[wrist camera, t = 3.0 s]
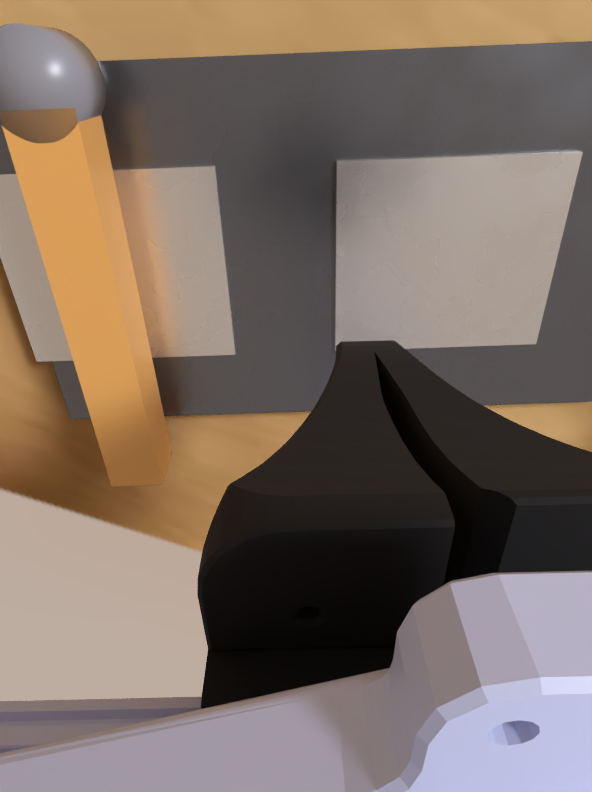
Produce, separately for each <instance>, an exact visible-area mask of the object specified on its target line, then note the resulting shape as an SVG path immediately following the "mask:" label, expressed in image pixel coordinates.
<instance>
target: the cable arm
mask: <svg viewBox="0 0 592 792" xmlns="http://www.w3.org/2000/svg"><path fill="white" fill-rule="evenodd" d="M105 101H106V87H105V81H104V77H103V74H102V71H101V68H100V66H99V64H98V62H97V60H96V59H95V57H94V55H93V54H92V53H91V51H90V50H89V49H88V48H87V47H86V46H85V45H84V44H83V43H82V42H81V41H80V40H79V39H77V38H76V37H74V36H73V35H71V34H69V33H67V32H65V31H62V30H59V29H55V28H48V27H40V26H32V25H24V24H6V25H3V26H0V124H1V125H2V128H3V131H4V135H5V138H6V141H7V145H8V148H9V151H10V154H11V158H12V161H13V164H14V168H15V171H16V174H17V177H18V181H19V184H20V187H21V191H22V194H23V197H24V200H25V204H26V207H27V210H28V214H29V217H30V220H31V223H32V227H33V230H34V233H35V237H36V240H37V243H38V246H39V250H40V253H41V256H42V260H43V263H44V266H45V269H46V273H47V276H48V279H49V283H50V286H51V289H52V292H53V296H54V299H55V302H56V306H57V309H58V312H59V315H60V319H61V322H62V325H63V329H64V332H65V335H66V338H67V342H68V345H69V348H70V352H71V355H72V358H73V361H74V365H75V368H76V371H77V375H78V378H79V381H80V384H81V388H82V391H83V394H84V398H85V401H86V404H87V407H88V411H89V414H90V417H91V421H92V424H93V427H94V430H95V434H96V437H97V440H98V444H99V447H100V450H101V453H102V457H103V460H104V463H105V467H106V470H107V473H108V476H109V480H110V483H111V486H112V487H113V486H143V485H162V484H163V481H164V477H165V474H166V471H167V467H168V464H169V461H170V457H171V454H172V451H171V446H170V441H169V436H168V432H167V427H166V422H165V417H164V413H163V408H162V403H161V398H160V393H159V389H158V384H157V379H156V374H155V370H154V365H153V360H152V355H151V351H150V346H149V341H148V336H147V331H146V327H145V322H144V317H143V312H142V308H141V303H140V298H139V293H138V289H137V284H136V279H135V274H134V269H133V265H132V260H131V255H130V250H129V246H128V241H127V236H126V231H125V226H124V222H123V217H122V212H121V207H120V203H119V198H118V193H117V188H116V184H115V179H114V174H113V169H112V164H111V160H110V155H109V150H108V145H107V141H106V136H105V131H104V126H103V122H102V117H101V115H102V112H103V110H104V106H105Z"/></svg>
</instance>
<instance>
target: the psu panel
mask: <svg viewBox="0 0 592 792" xmlns="http://www.w3.org/2000/svg"><path fill="white" fill-rule="evenodd" d="M97 62H98V64H99V66H100V68H101V71H102V74H103V77H104V81H105V87H106V101H105V106H104V110H103V112H102V115H101V117H102V122H103V126H104V131H105V136H106V141H107V145H108V150H109V155H110V160H111V164H112V169H113V174H114V179H115V184H116V188H117V193H118V198H119V203H120V207H121V212H122V217H123V222H124V226H125V231H126V236H127V241H128V246H129V250H130V255H131V260H132V265H133V269H134V274H135V279H136V284H137V289H138V293H139V298H140V303H141V308H142V312H143V317H144V322H145V327H146V331H147V336H148V341H149V346H150V351H151V355H152V360H153V365H154V370H155V374H156V379H157V384H158V389H159V393H160V398H161V403H162V408H163V413H164V416H179V415H208V414H238V413H267V412H296V411H312V410H313V408H314V407H315V405H316V404H317V402H318V400H319V398H320V396H321V395H322V393H323V391H324V389H325V387H326V385H327V383H328V380H329V378H330V375H331V373H332V370H333V367H334V364H335V360H336V346H337V345H338V344H339V343H340V342H345V341H386V340H394V341H396V342H397V343H399V344H400V345H401V346H402V347H403V348H405V349H406V350H407V351H408V352H409V353H411V354H412V355H413V356H414V357H415V358H417V359H418V360H419V361H420V362H421V363H423V364H424V365H425V366H426V367H427V368H429V369H430V370H431V371H433V372H434V373H435V374H436V375H438V376H439V377H440V378H442V379H443V380H444V381H446V382H447V383H448V384H450V385H451V386H453V387H454V388H456V389H457V390H459V391H460V392H462V393H463V394H465V395H466V396H468V397H469V398H471V399H472V400H474V401H476V402H477V403H479V404H481V405H501V404H530V403H560V402H589V401H592V41H590V42H566V43H541V44H516V45H491V46H466V47H442V48H417V49H392V50H367V51H342V52H318V53H293V54H268V55H243V56H218V57H194V58H169V59H144V60H119V61H97ZM0 258H1V261H2V264H3V266H4V269H5V272H6V275H7V278H8V281H9V284H10V287H11V289H12V292H13V295H14V298H15V301H16V304H17V307H18V309H19V312H20V315H21V318H22V321H23V324H24V327H25V330H26V332H27V335H28V338H29V341H30V344H31V347H32V350H33V353H34V355H35V358H36V361H37V362H44V361H52V363H53V367H54V370H55V373H56V376H57V379H58V382H59V385H60V388H61V391H62V394H63V397H64V400H65V403H66V406H67V409H68V412H69V415H70V418H71V419H91V417H90V414H89V411H88V407H87V404H86V401H85V398H84V394H83V391H82V388H81V384H80V381H79V378H78V375H77V371H76V368H75V365H74V361H73V358H72V355H71V352H70V348H69V345H68V342H67V338H66V335H65V332H64V329H63V325H62V322H61V319H60V315H59V312H58V309H57V306H56V302H55V299H54V296H53V292H52V289H51V286H50V283H49V279H48V276H47V273H46V269H45V266H44V263H43V260H42V256H41V253H40V250H39V246H38V243H37V240H36V237H35V233H34V230H33V227H32V223H31V220H30V217H29V214H28V210H27V207H26V204H25V200H24V197H23V194H22V191H21V187H20V184H19V181H18V177H17V174H16V171H15V168H14V164H13V161H12V158H11V154H10V151H9V148H8V145H7V141H6V138H5V135H4V131H3V128H2V125H1V124H0Z"/></svg>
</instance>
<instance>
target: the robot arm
mask: <svg viewBox="0 0 592 792" xmlns="http://www.w3.org/2000/svg"><path fill="white" fill-rule="evenodd" d="M198 599H199V604H200V609H201V614H202V619H203V625H204V630H205V635H206V640H207V645H208V656H207V662H206V670H205V677H204V684H203V692H202V697H175V698H134V699H133V698H132V699H88V700H45V701H6V702H5V701H4V702H0V792H592V452H589V451H586V450H583V449H580V448H577V447H574V446H571V445H568V444H565V443H563V442H560V441H557V440H555V439H552V438H549V437H547V436H544V435H542V434H540V433H537V432H535V431H533V430H530V429H528V428H526V427H523V426H521V425H519V424H517V423H515V422H513V421H510V420H508V419H506V418H504V417H503V416H501V415H499V414H497V413H495V412H493V411H491V410H490V409H488V408H486V407H484V406H482V405H481V404H479V403H477V402H476V401H474V400H472V399H471V398H469V397H468V396H466V395H465V394H463V393H462V392H460V391H459V390H457V389H456V388H454V387H453V386H451V385H450V384H448V383H447V382H446V381H444V380H443V379H442V378H440V377H439V376H438V375H436V374H435V373H434V372H433V371H431V370H430V369H429V368H427V367H426V366H425V365H424V364H423V363H421V362H420V361H419V360H418V359H417V358H415V357H414V356H413V355H412V354H411V353H409V352H408V351H407V350H406V349H405V348H403V347H402V346H401V345H400V344H399V343H397V342H396V341H394V340H386V341H345V342H340V343H339V344H338V345H337V346H336V360H335V364H334V367H333V370H332V373H331V375H330V378H329V380H328V383H327V385H326V387H325V389H324V391H323V393H322V395H321V396H320V398H319V400H318V402H317V404H316V405H315V407H314V408H313V410H312V412H311V413H310V414H309V416H308V417H307V419H306V420H305V421H304V423H303V424H302V425H301V426H300V428H299V429H298V430H297V431H296V432H295V433H294V435H293V436H292V437H291V438H290V439H289V440H288V441H287V442H286V443H285V444H284V445H283V446H282V447H281V448H280V449H279V450H278V451H277V452H275V453H274V454H273V455H272V456H271V457H270V458H269V459H267V460H266V461H265V462H264V463H263V464H261V465H260V466H258V467H257V468H255V469H254V470H252V471H250V472H249V473H247V474H246V475H244V476H243V477H241V478H239V479H238V480H236V481H234V482H232V483H231V484H230V485H229V486H228V487H227V489H226V491H225V493H224V495H223V497H222V499H221V502H220V504H219V506H218V508H217V510H216V513H215V515H214V518H213V520H212V523H211V526H210V528H209V531H208V534H207V538H206V541H205V544H204V548H203V552H202V558H201V563H200V569H199V575H198Z"/></svg>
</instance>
